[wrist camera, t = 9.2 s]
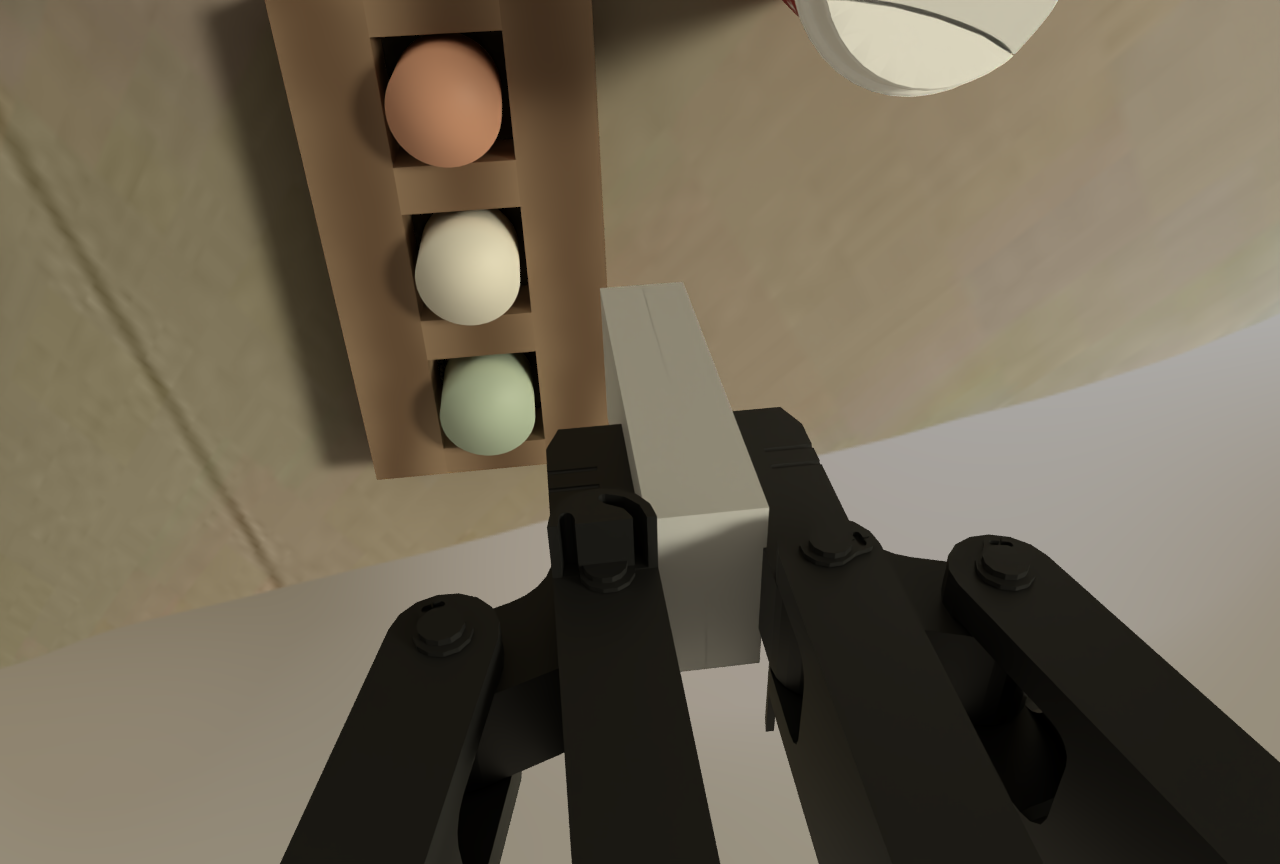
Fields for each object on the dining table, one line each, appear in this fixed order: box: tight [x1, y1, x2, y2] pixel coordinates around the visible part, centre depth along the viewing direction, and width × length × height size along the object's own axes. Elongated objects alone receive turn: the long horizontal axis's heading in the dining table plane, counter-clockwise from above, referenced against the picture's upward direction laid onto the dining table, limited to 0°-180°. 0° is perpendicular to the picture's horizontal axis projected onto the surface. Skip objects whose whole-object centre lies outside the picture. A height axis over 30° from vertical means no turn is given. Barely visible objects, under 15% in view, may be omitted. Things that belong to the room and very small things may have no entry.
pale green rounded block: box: [440, 352, 535, 456], centre depth 45 cm, size 4×4×4 cm
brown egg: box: [385, 33, 502, 168], centre depth 37 cm, size 4×4×4 cm
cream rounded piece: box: [415, 208, 520, 325], centre depth 41 cm, size 4×4×4 cm
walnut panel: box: [265, 0, 609, 480], centre depth 42 cm, size 12×22×3 cm, turn 2°
